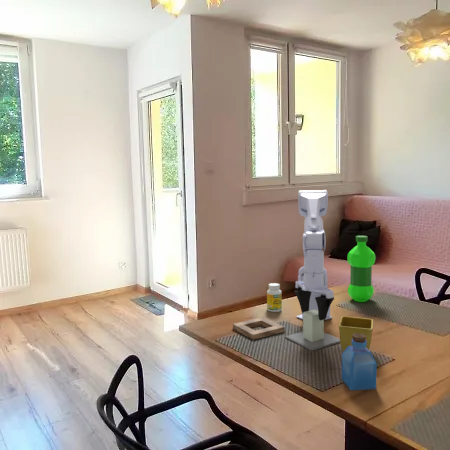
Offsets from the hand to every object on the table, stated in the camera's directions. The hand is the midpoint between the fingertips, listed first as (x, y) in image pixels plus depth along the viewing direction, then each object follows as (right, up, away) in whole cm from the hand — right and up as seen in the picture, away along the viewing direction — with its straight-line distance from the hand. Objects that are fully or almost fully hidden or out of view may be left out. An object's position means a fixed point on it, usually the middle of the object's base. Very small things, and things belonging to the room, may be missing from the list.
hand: (313, 316), depth 137 cm
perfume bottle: (+5, -11, -27) cm, 30 cm away
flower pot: (+10, -9, -10) cm, 16 cm away
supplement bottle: (-8, -4, +30) cm, 32 cm away
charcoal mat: (0, -7, +1) cm, 7 cm away
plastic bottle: (+26, -2, +41) cm, 48 cm away
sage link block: (0, -7, +1) cm, 7 cm away
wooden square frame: (-16, -7, +10) cm, 20 cm away
